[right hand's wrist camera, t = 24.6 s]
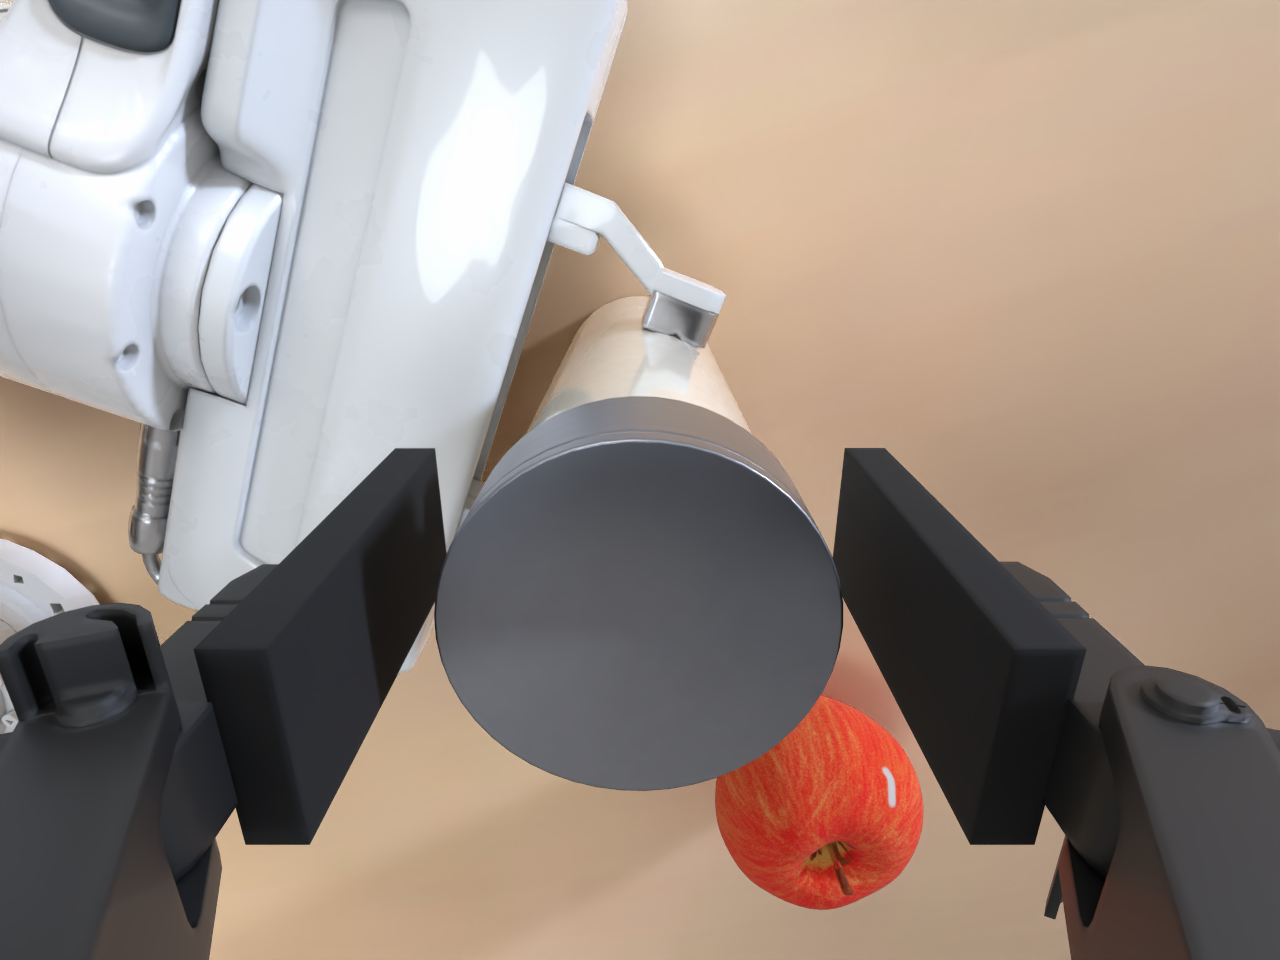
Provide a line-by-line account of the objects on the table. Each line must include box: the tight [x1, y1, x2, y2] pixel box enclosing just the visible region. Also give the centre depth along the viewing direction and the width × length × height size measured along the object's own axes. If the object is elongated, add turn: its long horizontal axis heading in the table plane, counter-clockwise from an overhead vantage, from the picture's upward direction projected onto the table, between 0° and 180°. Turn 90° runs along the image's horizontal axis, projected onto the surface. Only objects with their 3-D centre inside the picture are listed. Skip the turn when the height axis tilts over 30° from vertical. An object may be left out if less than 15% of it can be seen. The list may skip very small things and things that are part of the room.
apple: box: [715, 695, 923, 910], centre depth 28 cm, size 8×8×8 cm
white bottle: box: [526, 296, 752, 434], centre depth 18 cm, size 5×5×16 cm
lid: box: [434, 396, 843, 791], centre depth 11 cm, size 6×6×2 cm
